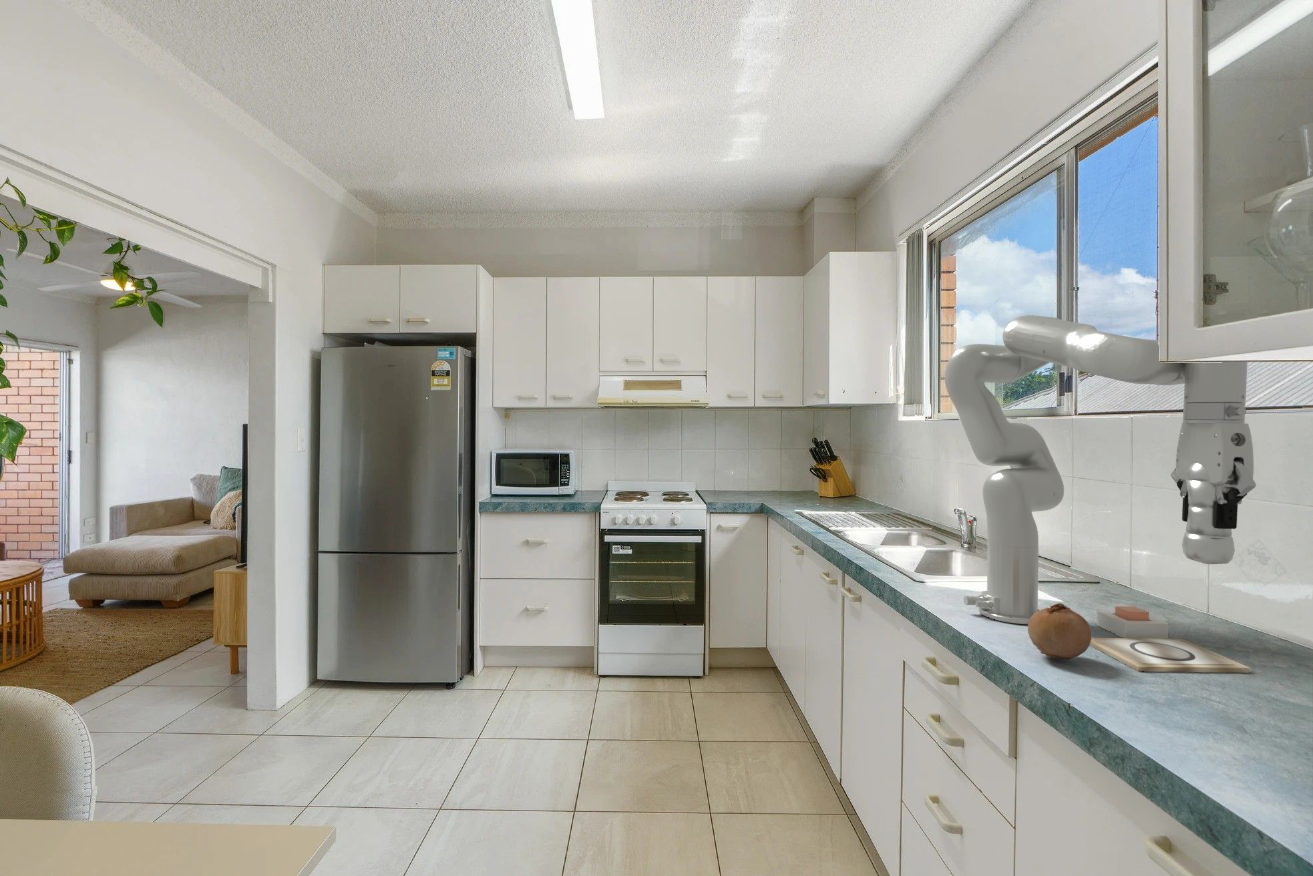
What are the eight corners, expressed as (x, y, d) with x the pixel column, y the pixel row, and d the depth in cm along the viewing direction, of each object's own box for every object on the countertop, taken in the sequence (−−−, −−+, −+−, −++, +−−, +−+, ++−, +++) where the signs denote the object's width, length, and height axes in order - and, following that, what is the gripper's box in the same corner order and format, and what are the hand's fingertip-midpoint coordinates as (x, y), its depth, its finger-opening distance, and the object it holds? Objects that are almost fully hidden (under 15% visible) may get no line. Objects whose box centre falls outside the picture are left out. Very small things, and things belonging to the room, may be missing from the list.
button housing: (1125, 638, 120) (1125, 623, 120) (1097, 625, 128) (1097, 610, 128) (1168, 639, 119) (1168, 623, 119) (1137, 625, 127) (1137, 611, 127)
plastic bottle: (1193, 566, 100) (1199, 442, 99) (1173, 557, 107) (1178, 440, 106) (1243, 569, 98) (1249, 443, 98) (1219, 559, 105) (1225, 441, 104)
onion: (1069, 674, 103) (1070, 613, 103) (1015, 655, 112) (1016, 599, 111) (1103, 664, 107) (1104, 606, 107) (1049, 646, 116) (1049, 593, 115)
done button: (1128, 626, 122) (1128, 611, 122) (1115, 620, 125) (1115, 606, 125) (1148, 626, 122) (1148, 612, 122) (1134, 620, 125) (1134, 606, 125)
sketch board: (1138, 671, 104) (1138, 665, 104) (1083, 642, 118) (1084, 636, 118) (1250, 672, 103) (1250, 666, 103) (1182, 643, 117) (1182, 637, 117)
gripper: (1288, 414, 93) (1282, 535, 94) (1194, 414, 110) (1189, 516, 111) (1235, 414, 93) (1230, 535, 94) (1150, 413, 110) (1146, 515, 111)
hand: (1208, 523), depth 102 cm, fingers closed on plastic bottle, 5 cm apart
